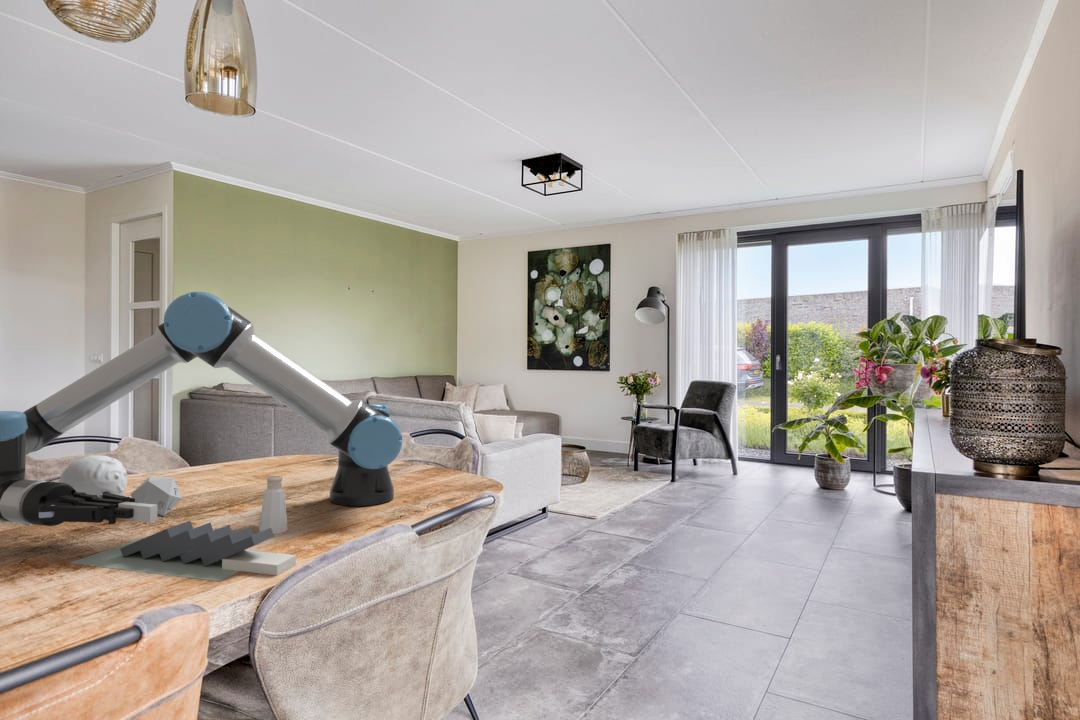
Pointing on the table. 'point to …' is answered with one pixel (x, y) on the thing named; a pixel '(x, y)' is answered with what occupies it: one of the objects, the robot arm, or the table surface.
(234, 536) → the domino
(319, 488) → the table surface
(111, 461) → the decorative ball
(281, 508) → the salt shaker
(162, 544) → the domino
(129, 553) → the domino
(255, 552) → the domino
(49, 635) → the table surface
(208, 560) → the domino
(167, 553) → the domino
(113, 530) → the table surface
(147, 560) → the felt mat
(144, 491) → the die
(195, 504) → the table surface
